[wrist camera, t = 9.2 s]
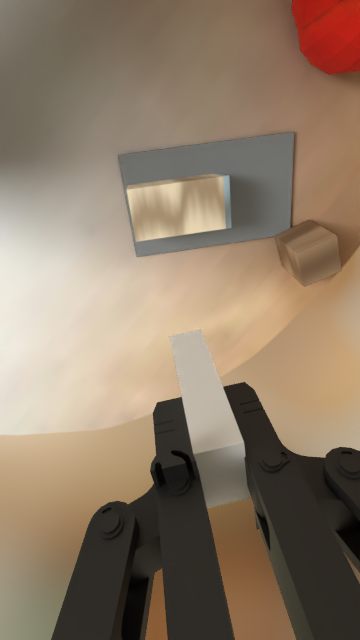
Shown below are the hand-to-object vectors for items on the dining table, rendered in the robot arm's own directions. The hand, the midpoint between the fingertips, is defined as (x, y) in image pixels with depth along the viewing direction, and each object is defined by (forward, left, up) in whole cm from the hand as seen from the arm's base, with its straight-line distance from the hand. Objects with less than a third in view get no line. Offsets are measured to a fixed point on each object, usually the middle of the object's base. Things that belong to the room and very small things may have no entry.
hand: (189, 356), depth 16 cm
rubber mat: (-3, +6, -26) cm, 27 cm away
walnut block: (+3, +17, -26) cm, 31 cm away
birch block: (-3, +7, -23) cm, 24 cm away
